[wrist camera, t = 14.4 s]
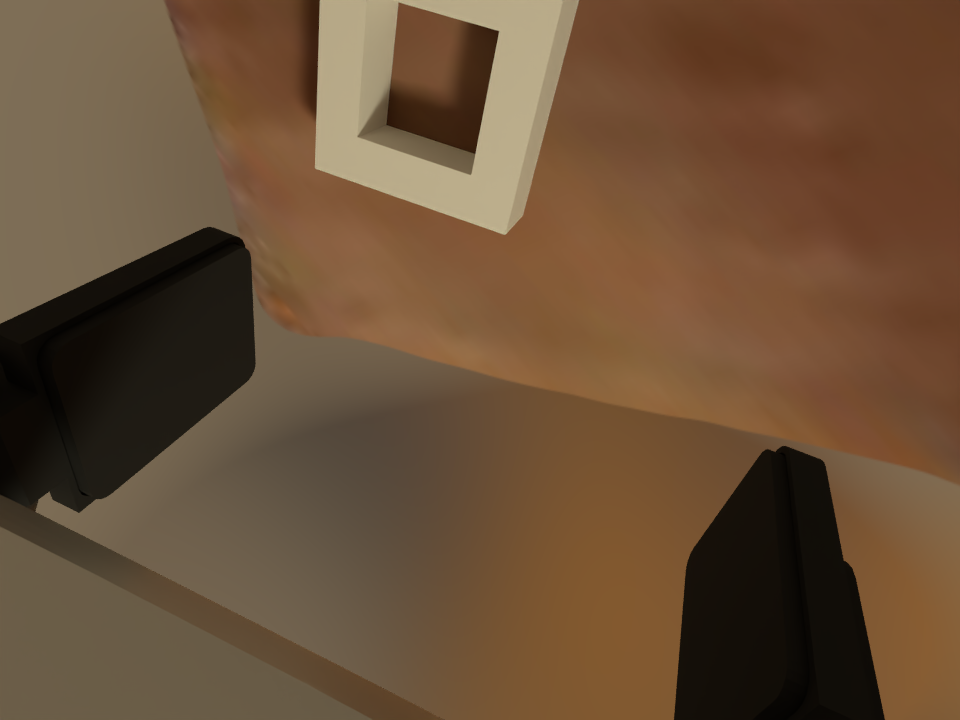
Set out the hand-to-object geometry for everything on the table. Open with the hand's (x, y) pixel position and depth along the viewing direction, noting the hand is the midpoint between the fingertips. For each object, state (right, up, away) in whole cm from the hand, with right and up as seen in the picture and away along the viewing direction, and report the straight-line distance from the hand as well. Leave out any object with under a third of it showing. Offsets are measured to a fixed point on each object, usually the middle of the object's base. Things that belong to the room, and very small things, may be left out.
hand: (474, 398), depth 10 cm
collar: (-2, +19, +27) cm, 33 cm away
